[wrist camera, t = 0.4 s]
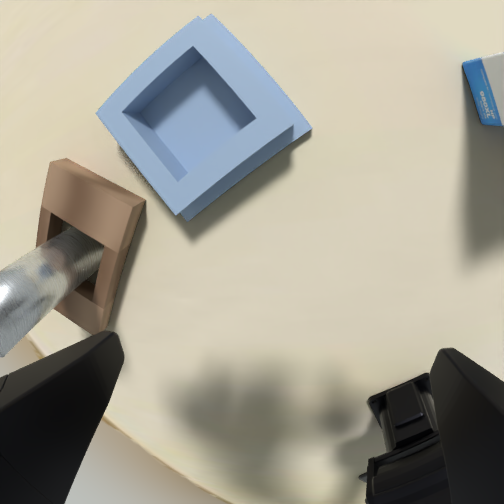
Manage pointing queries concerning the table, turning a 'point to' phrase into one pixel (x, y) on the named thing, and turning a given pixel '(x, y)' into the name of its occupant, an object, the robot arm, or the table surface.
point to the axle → (43, 282)
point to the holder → (90, 234)
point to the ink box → (487, 87)
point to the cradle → (200, 116)
